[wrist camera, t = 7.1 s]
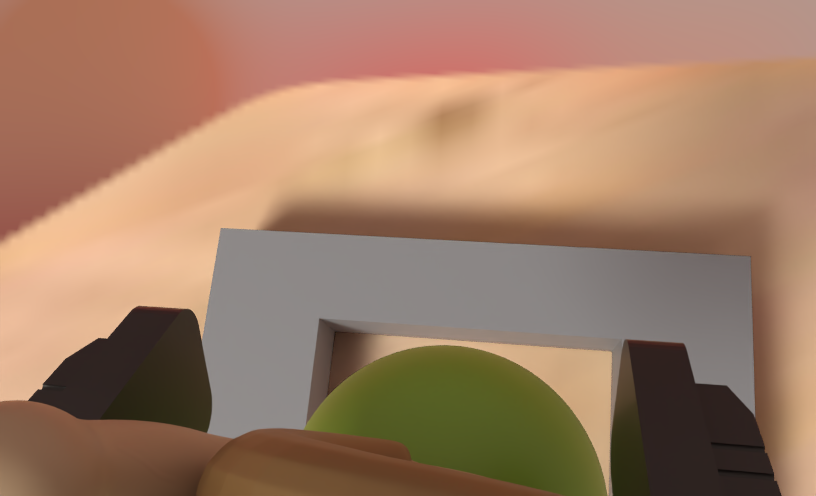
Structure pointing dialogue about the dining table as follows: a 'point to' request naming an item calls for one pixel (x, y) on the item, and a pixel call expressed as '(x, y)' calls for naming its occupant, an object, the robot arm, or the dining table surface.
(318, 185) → the dining table surface
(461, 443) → the snail figurine
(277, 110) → the dining table surface
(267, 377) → the gray square frame
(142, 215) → the dining table surface
